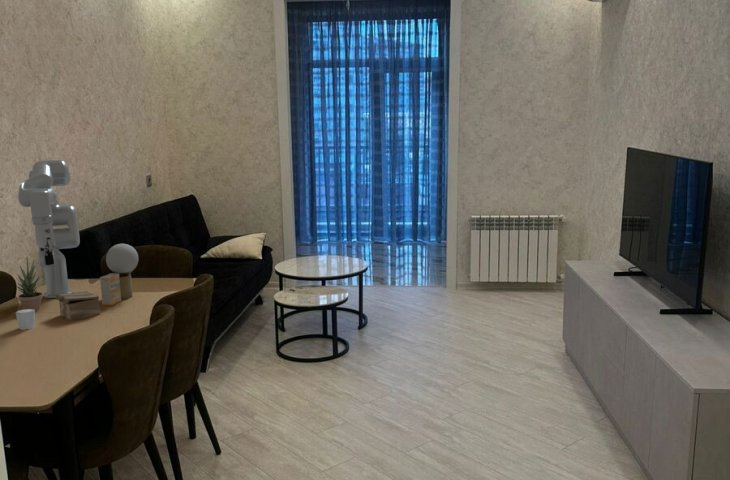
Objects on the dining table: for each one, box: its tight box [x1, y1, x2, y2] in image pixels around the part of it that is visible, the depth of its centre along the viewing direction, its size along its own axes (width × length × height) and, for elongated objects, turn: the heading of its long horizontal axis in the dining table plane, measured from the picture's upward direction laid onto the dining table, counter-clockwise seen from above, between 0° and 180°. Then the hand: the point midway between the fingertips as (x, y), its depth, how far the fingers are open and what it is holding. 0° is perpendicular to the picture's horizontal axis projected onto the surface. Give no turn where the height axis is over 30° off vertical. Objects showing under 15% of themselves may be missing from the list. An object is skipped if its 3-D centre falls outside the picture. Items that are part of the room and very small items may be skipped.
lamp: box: [105, 243, 139, 301], centre depth 312 cm, size 15×14×25 cm
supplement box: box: [99, 272, 122, 307], centre depth 302 cm, size 8×5×13 cm, turn 168°
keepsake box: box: [58, 297, 101, 321], centre depth 286 cm, size 12×12×7 cm
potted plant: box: [16, 257, 44, 313], centre depth 292 cm, size 10×10×25 cm
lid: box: [56, 290, 100, 305], centre depth 285 cm, size 12×13×2 cm
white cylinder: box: [15, 309, 36, 331], centre depth 269 cm, size 7×7×7 cm
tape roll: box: [37, 250, 55, 268], centre depth 279 cm, size 6×6×6 cm
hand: (47, 263), depth 279 cm, fingers closed on tape roll, 5 cm apart
